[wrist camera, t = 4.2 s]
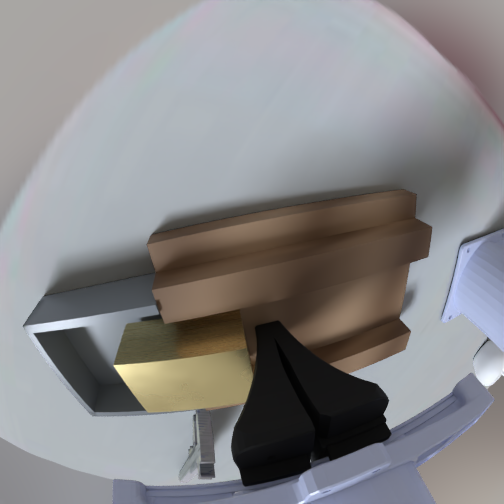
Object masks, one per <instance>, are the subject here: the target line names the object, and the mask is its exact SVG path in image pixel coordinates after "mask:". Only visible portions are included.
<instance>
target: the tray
mask: <svg viewBox="0 0 504 504" xmlns="http://www.w3.org/2000/svg"><path fill="white" fill-rule="evenodd" d="M155 274H156V273H152V274H148V275H143V276H138V277H133V278H129V279H124V280H119V281H114V282H110V283H105V284H100V285H95V286H91V287H86V288H81V289H76V290H71V291H67V292H62V293H57V294H52V295H48V296H43V297H42V299H41V300H40V301H39V303H38V304H37V306H36V307H35V309H34V310H33V312H32V313H31V314H30V316H29V317H28V319H27V321H26V322H25V324H24V325H23V327H24V329H25V331H26V332H27V334H28V335H29V337H30V339H31V340H32V342H33V343H34V345H35V346H36V348H37V349H38V351H39V352H40V353H41V355H42V356H43V358H44V359H45V361H46V362H47V363H48V365H49V366H50V367H51V369H52V370H53V371H54V373H55V374H56V375H57V376H58V378H59V379H60V380H61V382H62V383H63V384H64V385H65V386H66V388H67V389H68V390H69V391H70V392H71V394H72V395H73V396H74V397H75V398H76V399H77V400H78V402H79V403H80V404H81V405H82V406H83V407H84V408H85V409H86V410H87V411H88V412H89V413H90V414H91V415H92V416H137V415H153V414H165V413H174V412H183V411H171V412H152V413H148V412H147V411H146V410H145V408H144V407H143V406H142V405H141V403H140V402H139V401H138V399H137V398H136V397H135V396H134V394H133V393H132V391H131V390H130V389H129V387H128V386H127V385H126V383H125V382H124V380H123V379H122V377H121V376H120V375H119V373H118V372H117V370H116V369H115V367H114V366H113V364H114V361H115V358H116V354H117V351H118V348H119V345H120V341H121V338H122V335H123V332H124V329H125V326H126V324H127V323H135V322H142V321H149V320H156V319H162V316H161V313H160V311H159V308H158V306H157V303H156V301H155V298H154V295H153V293H152V286H153V282H154V278H155ZM203 409H204V408H203ZM194 410H198V409H194ZM184 411H191V410H184Z"/></svg>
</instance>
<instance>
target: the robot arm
mask: <svg viewBox="0 0 504 504" xmlns="http://www.w3.org/2000/svg"><path fill="white" fill-rule="evenodd" d="M461 313H462V314H463V315H465V316H466V317H467V318H468V319H469V320H470V321H471V322H472V323H473V324H475V325H476V326H477V327H478V328H479V329H480V330H481V331H482V332H483V333H484V334H485V335H486V336H487V337H488V338H489V339H491V340H492V341H493V342H494V343H495V344H496V345H497V346H498V347H499V348H500V349H501V350H502V351H503V352H504V229H501V230H499V231H496V232H494V233H491V234H488V235H486V236H483V237H481V238H478V239H475V240H473V241H470V242H467V243H465V244H463V245H462V246H461V247H460V250H459V255H458V260H457V264H456V269H455V273H454V277H453V281H452V285H451V289H450V292H449V296H448V299H447V303H446V306H445V309H444V312H443V315H442V318H441V321H442V322H443V323H446V322H448V321H449V320H451V319H453V318H455V317H456V316H458V315H460V314H461ZM255 333H256V339H257V352H256V362H255V370H254V375H253V379H252V384H251V387H250V391H249V394H248V397H247V400H246V402H245V405H244V408H243V410H242V412H241V415H240V417H239V419H238V421H237V423H236V425H235V427H234V431H233V436H232V443H231V451H232V456H233V460H234V462H235V464H236V465H237V467H238V468H239V470H240V475H241V479H239V480H233V481H226V482H218V483H209V484H197V485H180V486H145V485H144V484H143V483H141V482H139V481H134V480H120V479H114V480H113V504H436V503H435V501H434V499H433V497H432V495H431V493H430V492H429V490H428V488H427V486H426V485H425V483H424V481H423V479H422V477H421V476H420V474H419V472H418V471H417V469H416V468H417V467H418V466H420V465H421V464H423V463H424V462H426V461H427V460H429V459H430V458H432V457H433V456H434V455H436V454H437V453H439V452H440V451H441V450H442V449H444V448H445V447H447V446H448V445H449V444H450V443H451V442H453V441H454V440H455V439H456V438H458V437H459V436H460V435H462V434H463V433H464V432H465V431H466V430H467V429H469V428H470V427H471V426H472V425H473V424H475V423H476V421H477V420H478V419H479V418H480V417H481V416H482V415H483V413H484V412H485V411H486V410H487V409H488V408H489V406H490V405H491V404H492V402H494V398H493V397H492V396H491V394H490V393H489V392H488V391H487V389H486V388H485V387H484V386H483V385H482V384H481V382H480V381H479V380H478V379H477V378H476V377H475V375H474V374H473V373H470V374H469V375H467V376H466V377H465V378H463V379H462V380H461V381H460V382H458V383H457V385H456V386H455V387H454V389H453V391H452V392H451V393H450V394H448V395H447V396H446V397H444V398H443V399H441V400H440V401H438V402H437V403H435V404H434V405H432V406H431V407H429V408H427V409H426V410H424V411H423V412H421V413H419V414H418V415H416V416H414V417H412V418H411V419H409V420H407V421H405V422H404V423H402V424H400V425H398V426H396V427H394V428H392V429H391V430H389V428H388V426H387V425H386V423H385V422H386V418H385V416H384V415H383V414H384V412H385V410H386V408H387V406H388V402H389V399H388V397H387V396H386V394H385V393H384V391H383V390H382V389H381V388H380V387H379V386H378V385H377V384H376V383H372V382H369V381H365V380H362V379H359V378H357V377H354V376H352V375H349V374H347V373H345V372H343V371H341V370H339V369H337V368H335V367H333V366H332V365H330V364H328V363H327V362H325V361H324V360H322V359H321V358H319V357H318V356H316V355H315V354H314V353H312V352H311V351H310V350H308V349H307V348H306V347H305V346H304V345H303V344H301V343H300V342H299V341H298V340H297V339H296V338H295V337H294V336H293V335H292V334H291V333H290V332H289V331H288V330H287V329H286V328H285V327H284V325H283V324H282V323H281V322H280V321H279V320H277V321H273V322H269V323H265V324H261V325H256V327H255ZM310 459H311V462H310Z"/></svg>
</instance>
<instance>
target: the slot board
mask: <svg viewBox="0 0 504 504" xmlns="http://www.w3.org/2000/svg"><path fill="white" fill-rule="evenodd" d="M416 195H417V194H414V193H412V192H409V191H407V190H404V189H401V190H394V191H386V192H379V193H372V194H365V195H358V196H351V197H345V198H338V199H332V200H326V201H319V202H313V203H307V204H302V205H296V206H290V207H284V208H279V209H273V210H268V211H262V212H257V213H252V214H247V215H241V216H236V217H231V218H226V219H221V220H216V221H212V222H207V223H202V224H197V225H193V226H188V227H183V228H179V229H174V230H170V231H165V232H161V233H157V234H152V235H151V236H150V238H149V241H148V243H147V247H148V250H149V253H150V256H151V259H152V263H153V266H154V269H155V272H156V274H155V278H154V282H153V286H152V293H153V295H154V298H155V301H156V303H157V306H158V308H159V311H160V313H161V316H162V318H163V321H164V323H165V324H167V323H173V322H178V321H183V320H189V319H194V318H199V317H204V316H209V315H214V314H219V313H223V312H228V311H233V310H237V309H240V313H241V318H242V323H243V327H244V332H245V336H246V341H247V346H248V350H249V355H250V359H251V364H252V369H253V374H254V370H255V362H256V352H257V339H256V333H255V327H256V325H261V324H265V323H269V322H273V321H277V320H279V321H280V322H281V323H282V324H283V325H284V327H285V328H286V329H287V330H288V331H289V332H290V333H291V334H292V335H293V336H294V337H295V338H296V339H297V340H298V341H299V342H300V343H301V344H303V345H304V346H305V347H306V348H307V349H308V350H310V351H311V352H312V353H314V354H315V355H316V356H318V357H319V358H321V359H322V360H324V361H325V362H327V363H328V364H330V365H332V366H333V367H335V368H337V369H339V370H341V371H343V372H345V373H347V374H349V373H351V372H354V371H356V370H359V369H362V368H364V367H366V366H369V365H371V364H374V363H376V362H378V361H381V360H383V359H385V358H388V357H390V356H392V355H394V354H396V353H399V352H401V351H403V350H405V349H406V346H407V342H408V339H409V336H410V333H411V331H410V330H409V328H408V327H407V326H406V325H405V324H404V323H403V322H402V321H401V320H400V319H399V317H400V313H401V309H402V304H403V299H404V294H405V289H406V284H407V278H408V272H409V266H410V263H412V262H415V261H418V260H421V259H424V258H427V257H428V255H429V248H430V242H431V234H432V227H431V226H430V225H428V224H426V223H424V222H422V221H420V220H418V219H416V218H415V212H416ZM241 404H245V403H239V404H233V405H226V406H219V407H212V408H205V409H206V411H208V410H215V409H220V408H226V407H231V406H236V405H241Z"/></svg>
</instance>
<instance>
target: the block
mask: <svg viewBox="0 0 504 504" xmlns="http://www.w3.org/2000/svg"><path fill="white" fill-rule="evenodd" d="M113 366H114V367H115V369H116V370H117V372H118V373H119V375H120V376H121V377H122V379H123V380H124V382H125V383H126V385H127V386H128V387H129V389H130V390H131V391H132V393H133V394H134V396H135V397H136V398H137V399H138V401H139V402H140V403H141V405H142V406H143V407H144V408H145V410H146V411H147V412H148V413H152V412H171V411H184V410H194V409H203V408H212V407H219V406H226V405H233V404H239V403H245V402H246V400H247V397H248V394H249V391H250V387H251V384H252V379H253V375H254V374H253V369H252V364H251V359H250V355H249V350H248V346H247V341H246V336H245V332H244V327H243V323H242V318H241V313H240V309H237V310H233V311H228V312H223V313H219V314H214V315H209V316H204V317H199V318H194V319H189V320H183V321H178V322H173V323H167V324H165V323H164V321H163V318H162V319H156V320H149V321H142V322H135V323H127V324H126V326H125V329H124V332H123V335H122V338H121V341H120V345H119V348H118V351H117V354H116V358H115V361H114V364H113Z"/></svg>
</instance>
